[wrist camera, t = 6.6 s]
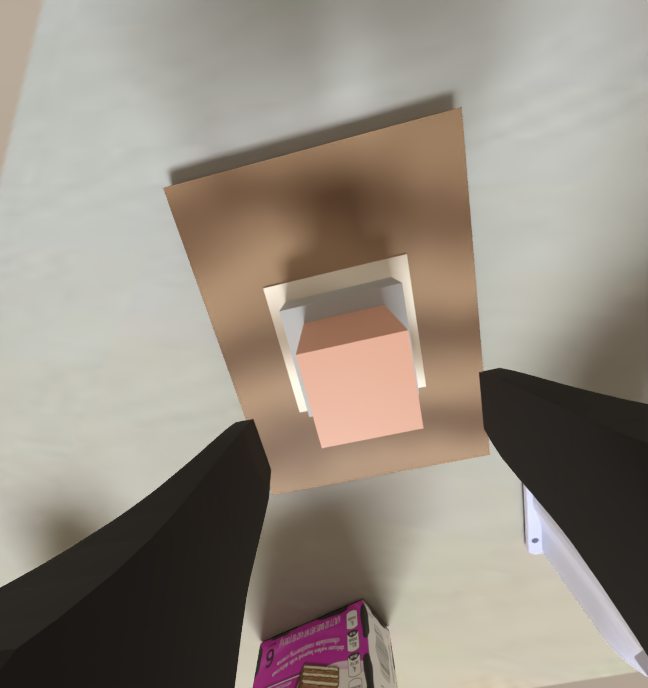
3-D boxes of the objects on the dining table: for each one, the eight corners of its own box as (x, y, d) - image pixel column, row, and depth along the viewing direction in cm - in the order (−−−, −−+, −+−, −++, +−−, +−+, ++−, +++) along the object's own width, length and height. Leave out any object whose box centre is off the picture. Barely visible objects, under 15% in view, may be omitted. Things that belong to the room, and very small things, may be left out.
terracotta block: (397, 378, 16) (423, 428, 12) (322, 394, 16) (321, 448, 12) (384, 304, 15) (408, 330, 11) (303, 323, 15) (295, 355, 11)
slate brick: (407, 375, 19) (419, 394, 16) (311, 395, 19) (309, 417, 17) (391, 276, 17) (402, 282, 15) (285, 301, 17) (279, 311, 15)
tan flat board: (482, 445, 22) (490, 455, 21) (275, 484, 23) (272, 496, 22) (453, 115, 16) (462, 106, 15) (172, 190, 17) (162, 187, 16)
